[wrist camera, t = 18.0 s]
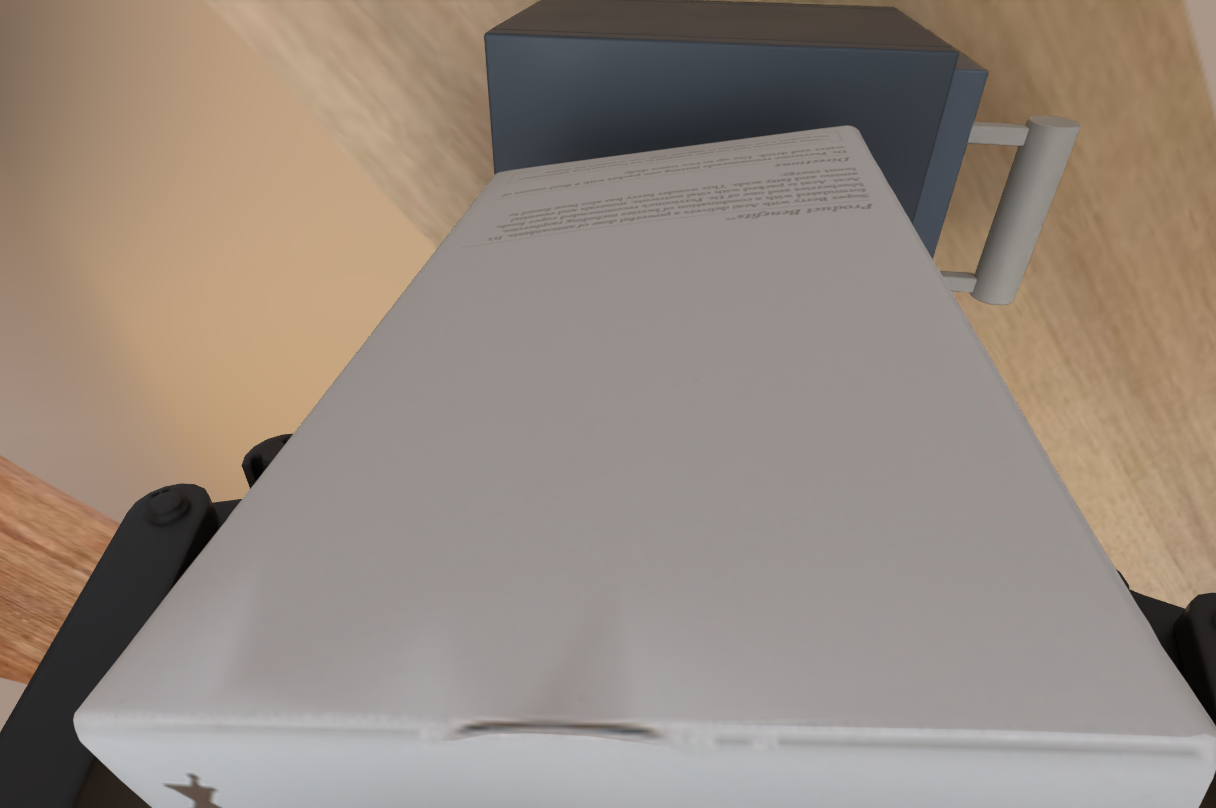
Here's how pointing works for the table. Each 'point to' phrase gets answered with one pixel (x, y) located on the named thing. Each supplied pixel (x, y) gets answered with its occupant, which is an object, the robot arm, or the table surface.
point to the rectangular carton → (660, 536)
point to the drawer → (1023, 194)
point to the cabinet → (713, 80)
